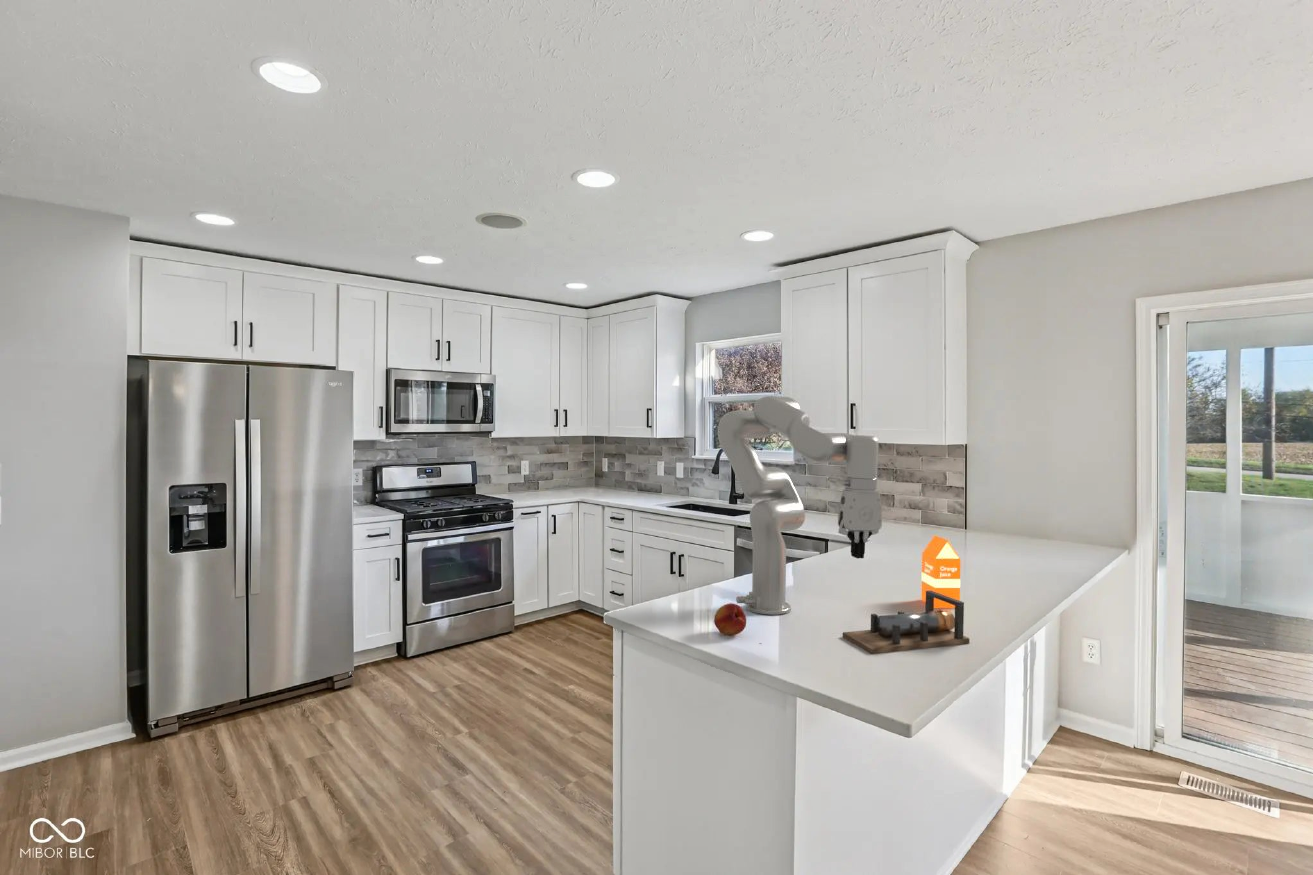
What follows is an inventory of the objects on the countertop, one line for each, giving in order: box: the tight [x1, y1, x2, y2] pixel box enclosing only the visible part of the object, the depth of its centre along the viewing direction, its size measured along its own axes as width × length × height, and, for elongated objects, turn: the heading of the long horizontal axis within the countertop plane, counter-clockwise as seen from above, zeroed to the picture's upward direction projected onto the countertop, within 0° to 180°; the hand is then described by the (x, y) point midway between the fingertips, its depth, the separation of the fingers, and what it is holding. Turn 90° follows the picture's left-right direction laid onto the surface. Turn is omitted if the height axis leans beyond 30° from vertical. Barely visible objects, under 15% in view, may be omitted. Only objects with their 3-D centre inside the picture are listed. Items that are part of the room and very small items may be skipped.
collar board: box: [842, 590, 970, 655], centre depth 157 cm, size 28×12×10 cm, turn 107°
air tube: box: [875, 609, 955, 637], centre depth 159 cm, size 20×5×5 cm, turn 107°
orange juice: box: [920, 534, 962, 609], centre depth 190 cm, size 8×9×20 cm
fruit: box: [713, 602, 747, 636], centre depth 160 cm, size 8×8×8 cm
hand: (857, 557), depth 159 cm, fingers closed
